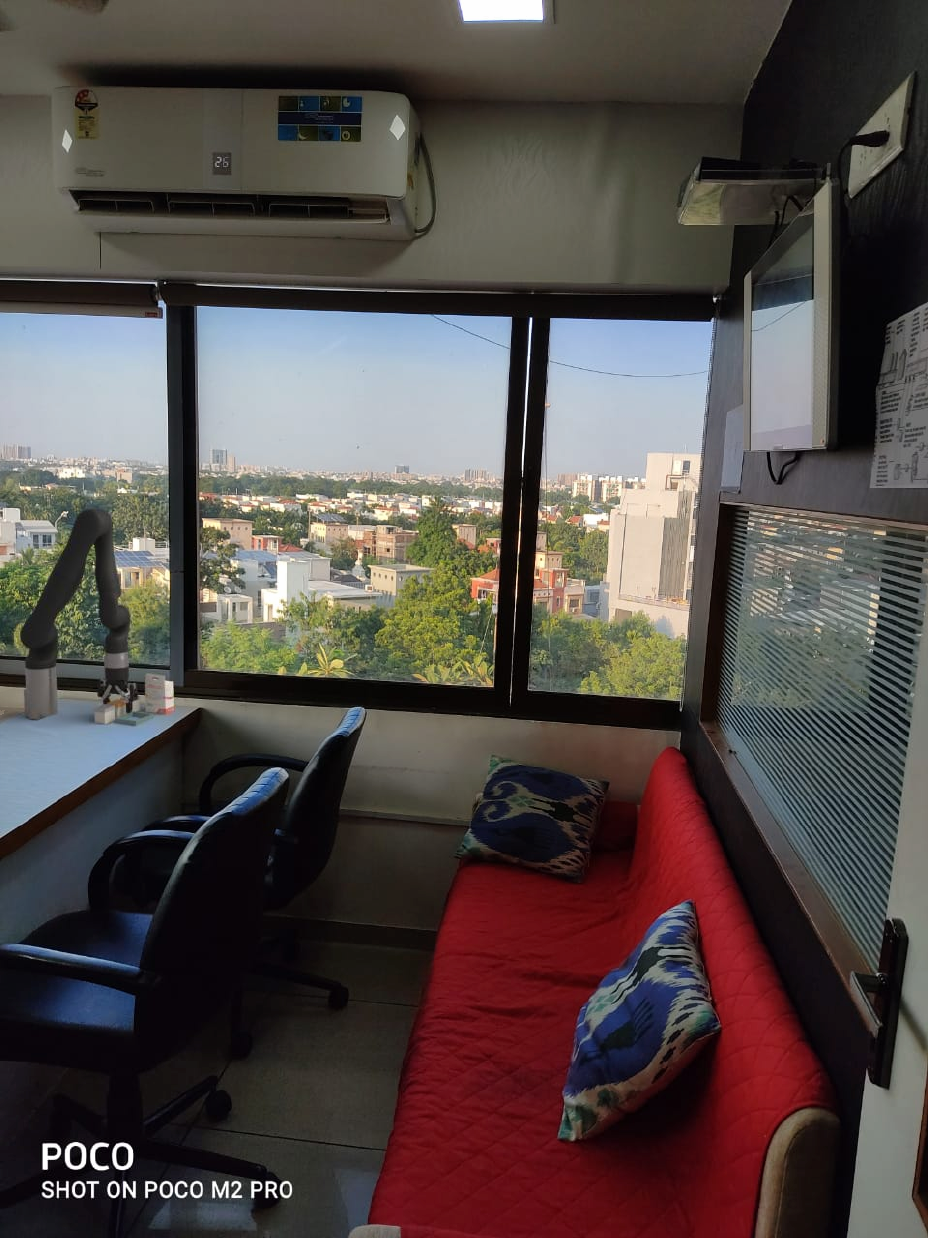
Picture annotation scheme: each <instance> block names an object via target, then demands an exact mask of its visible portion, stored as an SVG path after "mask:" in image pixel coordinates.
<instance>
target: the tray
mask: <svg viewBox="0 0 928 1238" xmlns="http://www.w3.org/2000/svg"><path fill="white" fill-rule="evenodd" d="M133 717H135V718H139V719H137V720H133V719H129V718H133ZM153 719H154V713H151V712H143V711H141V712H135V711H132V712H130V713H127V714H124V715H122V716H119V717H117V718H115V722H114V724H120V725H127V726H135V727H137V726H139V725H142V724H143V723H146V722H148V721H152V720H153Z"/></svg>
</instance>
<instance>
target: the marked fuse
mask: <svg viewBox="0 0 928 1238" xmlns="http://www.w3.org/2000/svg"><path fill="white" fill-rule="evenodd" d="M107 704H108V705H115V710H117V711H118V717H119V716H122V715H124V714H127V713H126V701H125V700H120V698H119V699H117V698H116V699H115V700H112V701H111V700H110V702H109V703H107Z"/></svg>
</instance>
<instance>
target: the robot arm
mask: <svg viewBox="0 0 928 1238" xmlns="http://www.w3.org/2000/svg"><path fill="white" fill-rule="evenodd" d="M112 519H113V518H112V517H111V515H110V514H109V512H108V511H106V510H104V509H102V508H87V509H84V510H82V511H81V512H80V513H79V514H77V516H76V518H75V521H74V523H73V526H72V529H71V531H70V535H69V537H68V541H67V543H66V544H65V546H64V548H63V549H62V551H61V553H60V556H59V558H58V559H57V562H56V563H55V565H54V567H53V568H52V571H51V573H50V575H49V576H48V579H47V581H46V583H45V585H44V588H43V589H42V591H41V593H40V596H39V599H38V600H37V603H36V605H35V607H34V609H33V611H32V612H31V613H30V615H29V617H28V618H27V620H26V621H25V623H24V624H23V625H22V627H21V629H20V633H19V639H20V642H21V643H22V645H23V647H25V648H26V649H29V650H28V654H27V657H25V659H24V666H25V668H24V669H25V688H24V689H23V699H24V700H23V701H24V702H23V703H24V716H25V717H27V718H28V719H29V720H38V721H39V720H43V719H45V718H48V717H52V716H56V715H58V713H59V710H58V709H59V706H58V702H59V701H58V683H57V682H58V681H57V676H58V675H57V659H58V655H59V634H58V629H57V626H56V623H55V621H56V620H57V618H58V616H59V614H60V613H61V611H62V610H63V609H64V608H65V607H66V606H67V604H68V603H69V602H70V601H71V600H72V598H74V596H75V593H76V592H77V591H78V589H79V587H80V585H81V582H82V580H83V578H84V576H85V572H86V568H87V567H86V566H87V558H88V556H89V552H90V550H91V549H92V547H93V548H94V553H95V555H94V556H95V557H94V558H95V560H94V562H95V563H94V578H95V584H96V588H97V592H98V616H99V617H98V618H99V621H100V622H101V623H100V624H102V625H103V626H104V627H105V628H106V629H109V632H108V634H107V635H106V636H105V638H104V678H102V679H99V680H97V693H96V694H97V697H98V698H101V699H102V705H103V704H107V703H109V702H111V698H110V697H111V696H112V695H116V696H117V695H118V696H121V697H120V698H124V699H125V701H126V713H130V712H132V710H133V701H135V700H138V696H139V693H138V684H137V682H133V683H131V682H129V677H130V666H129V665H130V664H129V652H128V636H129V632H130V627H131V613H130V611H129V609H128V607H126V606H124V605H122V604H119V599H120V597H121V596H122V589H121V583H120V577H119V573H118V569H117V562H116V556H115V548H114V546H115V545H114V532H113V531H114V530H113V529H114V527H113V520H112ZM106 687H107V688H106Z"/></svg>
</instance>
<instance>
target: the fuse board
mask: <svg viewBox="0 0 928 1238" xmlns="http://www.w3.org/2000/svg"><path fill="white" fill-rule="evenodd" d="M119 700H125V699H124V698H122V697H120V698H119ZM140 700H141V696H140V695H138V700H135V701H133V710H132V711H135V712H143V711H144V709H141V703H140V702H141V701H140ZM93 712H94V720H92V721H90V722H89V723H91V724H98V725H105V726H110V725H111V724H115V718H117V717H118V711H117V710H115V705H108V704H103V703H102V704H101V705H98V706H95V707H94V708H93Z"/></svg>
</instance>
